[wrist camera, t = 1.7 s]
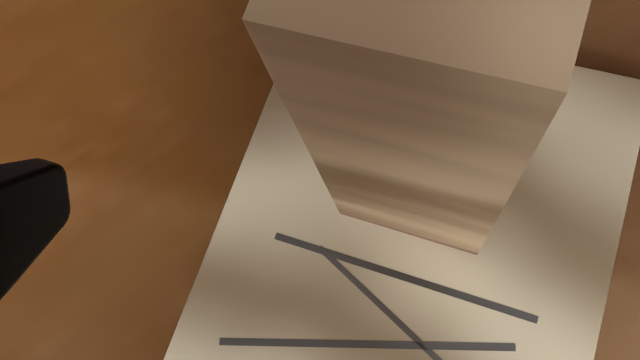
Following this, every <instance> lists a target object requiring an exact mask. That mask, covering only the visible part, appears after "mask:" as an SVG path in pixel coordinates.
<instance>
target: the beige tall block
mask: <svg viewBox="0 0 640 360" xmlns="http://www.w3.org/2000/svg"><path fill="white" fill-rule="evenodd" d="M590 3H591V0H249V3H248V5H247V8H246V10H245V12H244V15H243V17H242V21H243V23H244V25H245V27H246V29H247V31H248V33H249V35H250V37H251V39H252V41H253V43H254V45H255V47H256V49H257V51H258V53H259V55H260V57H261V59H262V61H263V63H264V65H265V67H266V69H267V71H268V73H269V75H270V77H271V79H272V81H273V83H274V85H275V87H276V88H277V90H278V92H279V94H280V96H281V98H282V100H283V102H284V104H285V106H286V108H287V110H288V112H289V114H290V116H291V118H292V120H293V122H294V124H295V126H296V128H297V130H298V132H299V134H300V136H301V138H302V140H303V142H304V144H305V146H306V148H307V150H308V152H309V154H310V156H311V158H312V159H313V161H314V163H315V165H316V167H317V169H318V171H319V173H320V175H321V177H322V179H323V181H324V183H325V185H326V187H327V189H328V191H329V193H330V195H331V197H332V199H333V201H334V203H335V205H336V207H337V209H338V211H339V213H340V214H343V215H346V216H350V217H353V218H356V219H359V220H363V221H366V222H369V223H373V224H376V225H379V226H383V227H386V228H389V229H393V230H396V231H399V232H402V233H406V234H409V235H412V236H416V237H419V238H422V239H426V240H429V241H432V242H435V243H439V244H442V245H445V246H449V247H452V248H455V249H459V250H462V251H465V252H469V253H472V254H475V255H477V254H478V253H479V251H480V249H481V247H482V245H483V244H484V242H485V240H486V238H487V236H488V235H489V233H490V231H491V229H492V227H493V226H494V224H495V222H496V220H497V218H498V217H499V215H500V213H501V211H502V210H503V208H504V206H505V204H506V202H507V201H508V199H509V197H510V195H511V193H512V192H513V190H514V188H515V186H516V184H517V183H518V181H519V179H520V177H521V175H522V174H523V172H524V170H525V168H526V166H527V165H528V163H529V161H530V159H531V158H532V156H533V154H534V152H535V150H536V149H537V147H538V145H539V143H540V141H541V140H542V138H543V136H544V134H545V132H546V131H547V129H548V127H549V125H550V123H551V122H552V120H553V118H554V116H555V114H556V113H557V111H558V109H559V107H560V106H561V104H562V102H563V100H564V98H565V97H566V95H567V93H568V89H569V85H570V81H571V78H572V74H573V70H574V66H575V62H576V58H577V54H578V50H579V46H580V42H581V38H582V34H583V31H584V27H585V23H586V19H587V15H588V11H589V7H590Z"/></svg>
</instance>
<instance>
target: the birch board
mask: <svg viewBox="0 0 640 360" xmlns="http://www.w3.org/2000/svg"><path fill="white" fill-rule="evenodd" d="M639 147H640V79H635V78H630V77H626V76H621V75H616V74H612V73H607V72H602V71H598V70H593V69H588V68H584V67H579V66H574V70H573V74H572V78H571V81H570V85H569V89H568V93H567V95H566V97H565V98H564V100H563V102H562V104H561V106H560V107H559V109H558V111H557V113H556V114H555V116H554V118H553V120H552V122H551V123H550V125H549V127H548V129H547V131H546V132H545V134H544V136H543V138H542V140H541V141H540V143H539V145H538V147H537V149H536V150H535V152H534V154H533V156H532V158H531V159H530V161H529V163H528V165H527V166H526V168H525V170H524V172H523V174H522V175H521V177H520V179H519V181H518V183H517V184H516V186H515V188H514V190H513V192H512V193H511V195H510V197H509V199H508V201H507V202H506V204H505V206H504V208H503V210H502V211H501V213H500V215H499V217H498V218H497V220H496V222H495V224H494V226H493V227H492V229H491V231H490V233H489V235H488V236H487V238H486V240H485V242H484V244H483V245H482V247H481V249H480V251H479V253H478V254H477V255H475V254H472V253H469V252H465V251H462V250H459V249H455V248H452V247H449V246H445V245H442V244H439V243H435V242H432V241H429V240H426V239H422V238H419V237H416V236H412V235H409V234H406V233H402V232H399V231H396V230H393V229H389V228H386V227H383V226H379V225H376V224H373V223H369V222H366V221H363V220H359V219H356V218H353V217H350V216H346V215H343V214H340V213H339V211H338V209H337V207H336V205H335V203H334V201H333V199H332V197H331V195H330V193H329V191H328V189H327V187H326V185H325V183H324V181H323V179H322V177H321V175H320V173H319V171H318V169H317V167H316V165H315V163H314V161H313V159H312V158H311V156H310V154H309V152H308V150H307V148H306V146H305V144H304V142H303V140H302V138H301V136H300V134H299V132H298V130H297V128H296V126H295V124H294V122H293V120H292V118H291V116H290V114H289V112H288V110H287V108H286V106H285V104H284V102H283V100H282V98H281V96H280V94H279V92H278V90H277V88H276V87H275V85H274V83H273V85H272V88H271V90H270V93H269V95H268V98H267V100H266V103H265V105H264V108H263V110H262V113H261V116H260V118H259V121H258V123H257V126H256V128H255V131H254V133H253V136H252V138H251V141H250V143H249V146H248V148H247V151H246V153H245V156H244V158H243V161H242V163H241V166H240V168H239V171H238V173H237V176H236V179H235V181H234V184H233V186H232V189H231V191H230V194H229V196H228V199H227V201H226V204H225V206H224V209H223V211H222V214H221V216H220V219H219V221H218V224H217V226H216V229H215V231H214V234H213V236H212V239H211V241H210V244H209V247H208V249H207V252H206V254H205V257H204V259H203V262H202V264H201V267H200V269H199V272H198V274H197V277H196V279H195V282H194V284H193V287H192V289H191V292H190V294H189V297H188V299H187V302H186V304H185V307H184V310H183V312H182V315H181V317H180V320H179V322H178V325H177V327H176V330H175V332H174V335H173V337H172V340H171V342H170V345H169V347H168V350H167V352H166V355H165V357H164V360H594V355H595V351H596V346H597V341H598V337H599V332H600V328H601V323H602V318H603V314H604V309H605V304H606V300H607V295H608V291H609V286H610V281H611V277H612V272H613V267H614V263H615V258H616V254H617V249H618V244H619V240H620V235H621V230H622V226H623V221H624V216H625V212H626V207H627V203H628V198H629V193H630V189H631V184H632V179H633V175H634V170H635V166H636V161H637V156H638V152H639Z"/></svg>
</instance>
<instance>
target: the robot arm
mask: <svg viewBox="0 0 640 360" xmlns="http://www.w3.org/2000/svg"><path fill="white" fill-rule="evenodd" d="M69 215H70V200H69V192H68V184H67V176H66V172H65V170H64V168H63V167H62V166H61V165H59V164H57V163H53V162H50V161H47V160H44V159H39V158H35V159H29V160H23V161H17V162H11V163H5V164H0V300H1V299H2V297H3V296H4V295H5V294H6V293H7V292H8V291H9V290H10V289H11V288H12V286H13V285H14V284H15V283H16V282H17V281H18V279H19V278H20V277H21V276H22V275H23V274H24V272H25V271H26V270H27V269H28V268H29V266H30V265H31V264H32V263H33V262H34V260H35V259H36V258H37V257H38V256H39V254H40V253H41V252H42V251H43V250H44V249H45V247H46V246H47V245H48V244H49V243H50V241H51V240H52V239H53V238H54V237H55V235H56V234H57V233H58V232H59V231H60V230H61V228H62V227H63V226H64V225H65V223H66V222H67V220H68V218H69Z"/></svg>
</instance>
